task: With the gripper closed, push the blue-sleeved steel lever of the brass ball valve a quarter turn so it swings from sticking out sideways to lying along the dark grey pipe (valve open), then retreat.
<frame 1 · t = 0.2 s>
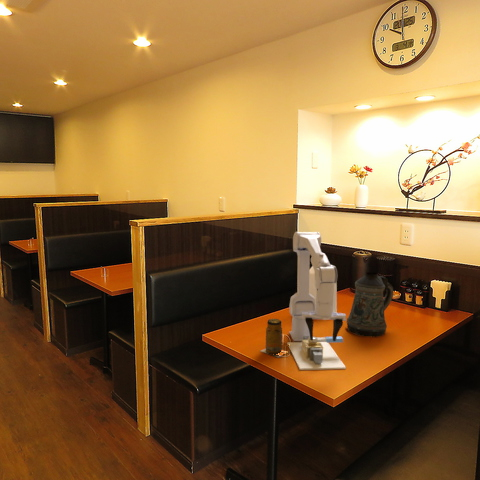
hand: (322, 339, 140), 10 cm above the table, fingers open, 7 cm apart
milk: (319, 312, 199), on the table
beer stein: (367, 329, 178), on the table
valve: (311, 355, 151), resting on board
condiment: (275, 352, 154), on the table
lever: (325, 339, 150), point 6 cm above the table, hinge at 90.0°
board: (314, 355, 151), on the table
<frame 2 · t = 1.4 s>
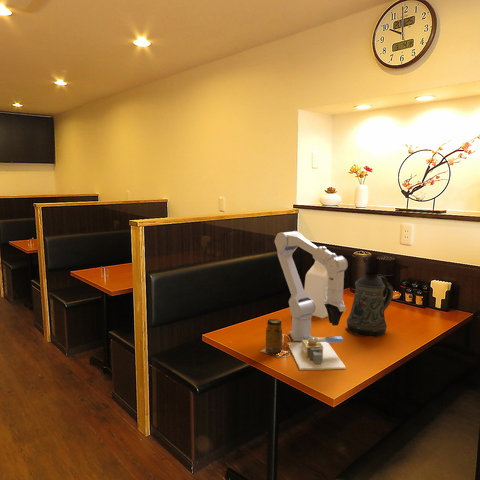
hand: (333, 323, 154), 10 cm above the table, fingers closed
nothing on the table moved.
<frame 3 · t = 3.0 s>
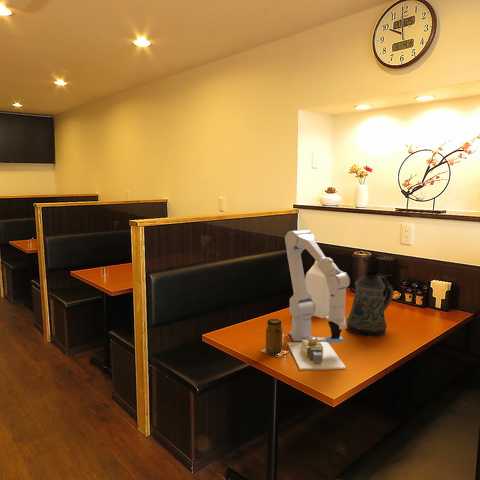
hand: (335, 340, 152), 5 cm above the table, fingers closed, pressing on lever
lever: (325, 339, 150), point 6 cm above the table, hinge at 89.0°, touching gripper
everything else where it was.
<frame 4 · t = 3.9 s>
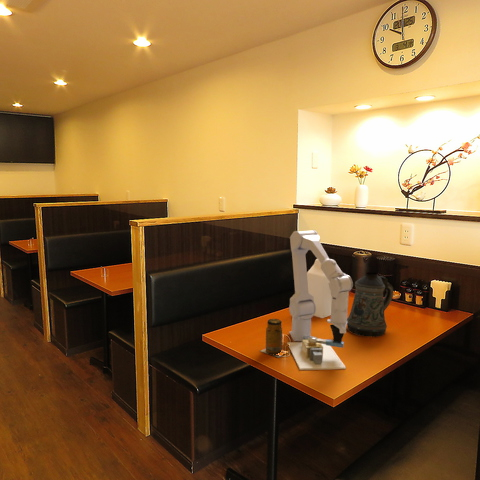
hand: (337, 344, 149), 5 cm above the table, fingers closed, pressing on lever
lever: (325, 341, 148), point 6 cm above the table, hinge at 63.6°, touching gripper
everything else where it was.
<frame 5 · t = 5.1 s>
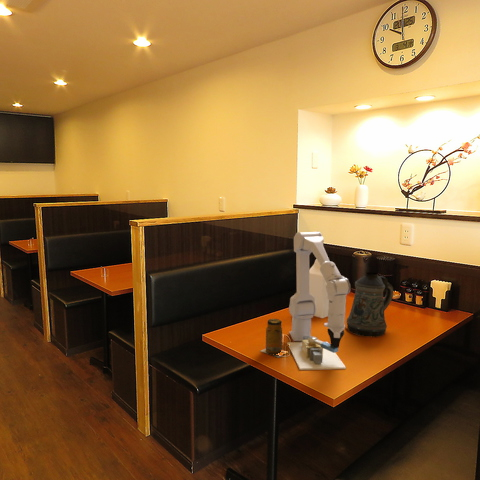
hand: (334, 349, 145), 5 cm above the table, fingers closed, pressing on lever
lever: (322, 344, 146), point 6 cm above the table, hinge at 32.0°, touching gripper
everything else where it was.
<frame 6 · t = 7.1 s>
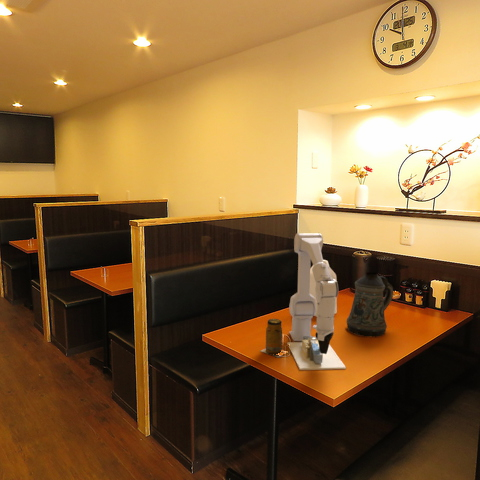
hand: (323, 353, 141), 5 cm above the table, fingers closed
lever: (314, 345, 145), point 6 cm above the table, hinge at -7.3°, touching gripper
everything else where it was.
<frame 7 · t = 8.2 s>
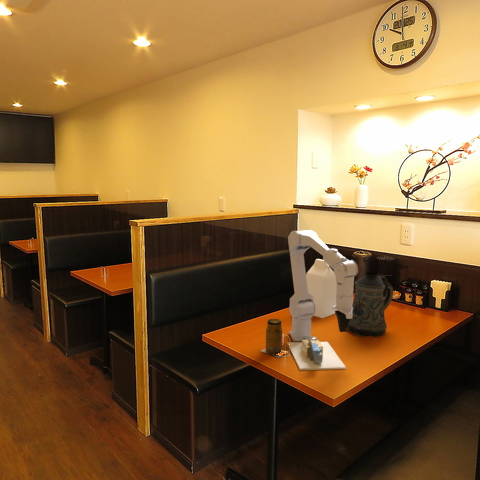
hand: (342, 331, 147), 10 cm above the table, fingers closed
lever: (314, 345, 145), point 6 cm above the table, hinge at -7.5°
everything else where it was.
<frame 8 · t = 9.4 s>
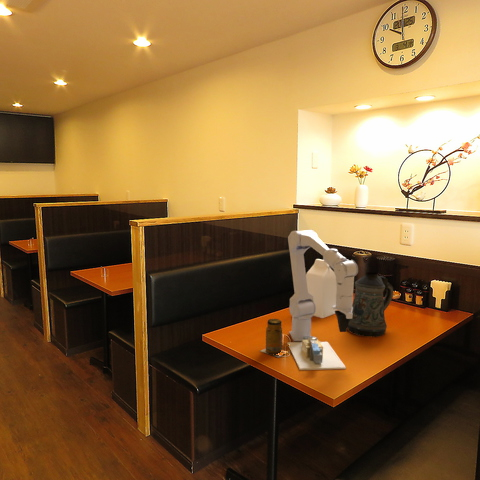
hand: (342, 331, 147), 10 cm above the table, fingers closed
nothing on the table moved.
at the end: lever at -8° (first picture: +90°); lever touching nothing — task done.
